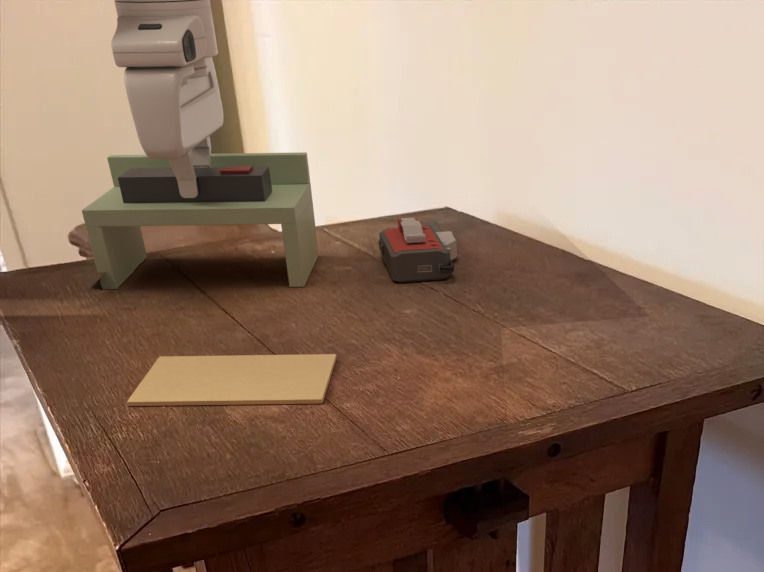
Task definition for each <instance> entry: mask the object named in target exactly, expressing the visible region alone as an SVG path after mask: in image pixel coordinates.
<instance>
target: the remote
mask: <svg viewBox="0 0 764 572" xmlns="http://www.w3.org/2000/svg"><path fill="white" fill-rule="evenodd" d="M194 172H195V176H198V181H199V187H200V193H199V194H198V196H196V197H195V198H183V197H182V196H181V195H180V191H179V186H178V181H177V179H176V177H175V175H174V172H173V170H172V168H133V169H129V170H128V171H126V172H125V173H123V174H122V175H121V176H119V177H118V182H119V186H120V190H121V195H122V199H123V203H180V202H253V201H265V200H266V199H267V198H268V196H269V195H270V194H271V192H272V186H271V179H270V171H269V167H253V166H224V167H206V168H194Z"/></svg>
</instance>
